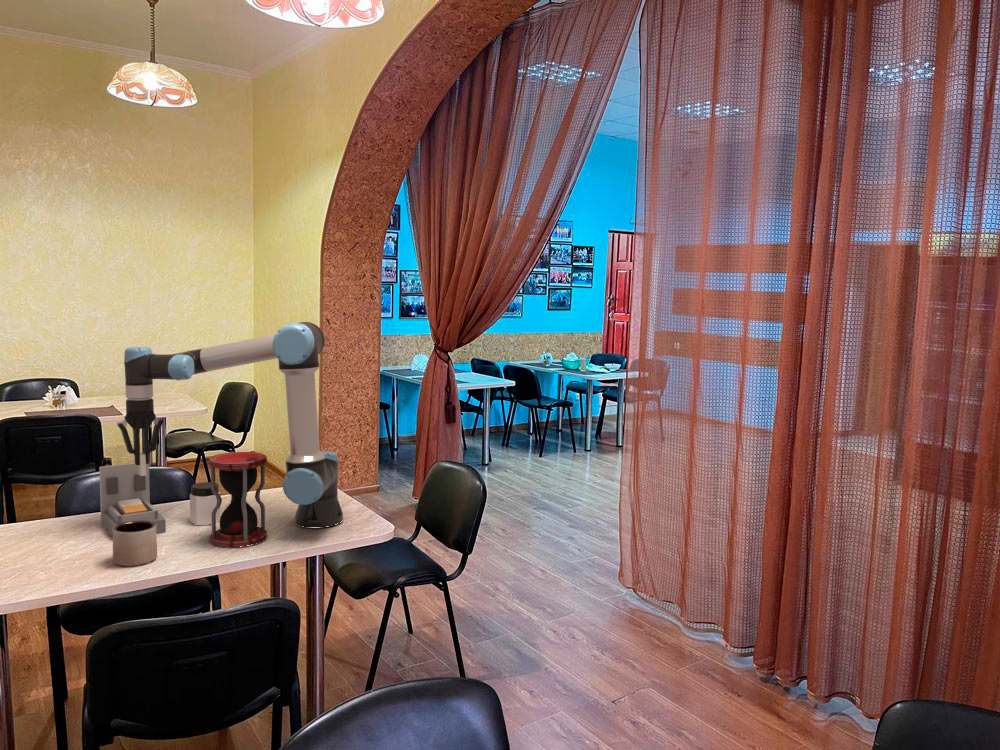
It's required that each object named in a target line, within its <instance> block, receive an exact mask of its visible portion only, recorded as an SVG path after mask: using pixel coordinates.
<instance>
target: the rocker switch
mask: <svg viewBox="0 0 1000 750" xmlns="http://www.w3.org/2000/svg"><path fill="white" fill-rule="evenodd" d="M118 506H119V508H120V510H121V513H123V514H124V515H127V514H134V513H141V512H147V509H146V508H145V506H144V505H143V503H142V502H141V500H140V499H139V498H138V499H130V500H123V501H118Z"/></svg>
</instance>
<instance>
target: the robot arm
mask: <svg viewBox="0 0 1000 750" xmlns="http://www.w3.org/2000/svg"><path fill="white" fill-rule="evenodd" d="M325 344H326V337H325V334H324V332H323V330H322V328H320V327H319V325H317V324H316V323H313V322H312V321H311V322H310V321H301V322H292V323H288V324H286V325H283V326H282V327H281V328H279V329H278V331H276V333H273V334H270V335H265V336H258V337H253V338H249V339H243V340H239V341H232V342H229V343H224V344H218V345H213V346H208V347H203V348H197V349H192V350H186V351H184V352H178V353H177V352H176V353H172V354H169V353H168V354H156V353H153V351H152V348H151V347H148V346H147V347H146V346H131V347H127V348H126V349H125V350H124V355H123V356H124V357H123V358H124V359H123V360H124V362H123V365H124V378H125V382H124V383H125V384H124V385H125V386H124V387H125V398H127V399H126V400H125V412H126V413H125V416H124V419H123V420H121V421H118V422H117V423H116V426H117V427H118V428H119V430H120V432H121V434H122V438H123V440H124V441H123V442H124V444H125V448H126V451H127V452H128V453H129V454H131V455H133V456H134V463H135V465H138V470H139V475H140V476H146V464H149V465H150V454H151V453H152V452H155V451H156V448H157V444H158V440H159V435H160V431H161V427H162V426H163V424H164V422H165V421H164V420H163V419H162V418H158V417H157V415H156V413H155V412H154V410H155V407H154V399H153V397H154V386H153V384H154V383H153V382H154V381H153V380H173V381H182V380H183V381H184V380H189V379H191V378H192V376H193V375H198V374H204V373H207V372H212V371H216V370H217V371H218V370H222V369H229V368H234V367H239V366H243V365H249V364H254V363H255V364H256V363H260V362H267V361H271V360H276V359H278V370H279V371H280V372H281V373H282V374H283V375H284V382H285V396H286V409H287V411H286V412H287V422H288V425H287V426H288V437H289V439H288V440H289V452H290V453H289V455H288V456H287V457H286V458H285V469H286V470H285V471H286V474H285V476H284V478H283V481H282V491H283V494H284V495H285V497H286V498H287V499H288V500H290V501H291V502H292V503H294V504H296V505H297V508H296V512H295V514H294V524H295V523H296V524H297V525H296V524H295V525H296V526H298V525H300V526H304V527H303V528H305V527H326V526H332V525H335V524H337V523H340V522H341V521H342V520H343V521H344V513H343V509H342V507H341V505H340V504H341V503H340V501H339V498H338V495H339V493H338V488H339V487H338V486H339V485H338V484H339V482H338V481H339V480H338V479H339V477H338V476H339V471H338V470H339V468H338V467H339V465H338V464H339V460H338V459H339V458H338V457H339V456H338V454H337V453H336V452H334V451H327V450H320V449H321V448H320V435H319V420H318V407H317V406H318V405H317V391H316V378H315V377H316V376H315V373H316V372H317V371H318V369H319V368H320V359H319V355H320V354H321V353H322V352H323V350H324V348H325ZM152 423H153V424H154V425H153V429H152V434H151V436H150V435H149V432H150V429H149V428H150V427H151V425H152ZM127 424H128V425H129V427H131V428H132V435H133V437H132V438H133V439H132V440H133V444H132V441H131V438H130V435H129V432H128V429H127V426H128V425H127ZM140 433H141V435H142V452H141V443H140V442H141V440H140V438H141V437H140ZM149 436H150V437H151V438H150V437H149ZM340 524H341V523H340ZM300 526H299V527H300Z"/></svg>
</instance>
